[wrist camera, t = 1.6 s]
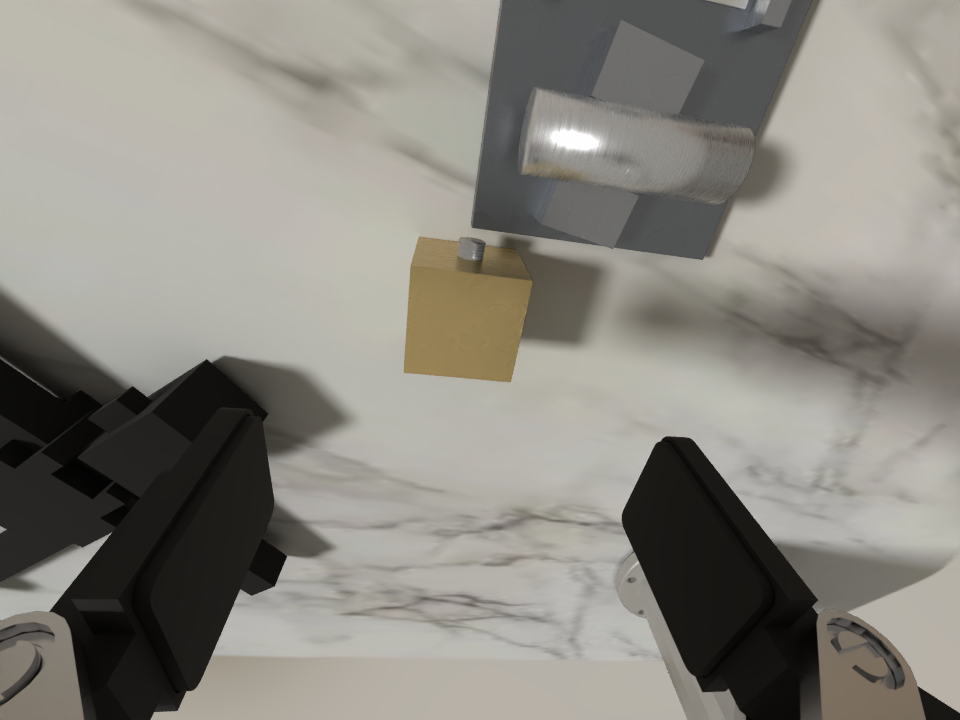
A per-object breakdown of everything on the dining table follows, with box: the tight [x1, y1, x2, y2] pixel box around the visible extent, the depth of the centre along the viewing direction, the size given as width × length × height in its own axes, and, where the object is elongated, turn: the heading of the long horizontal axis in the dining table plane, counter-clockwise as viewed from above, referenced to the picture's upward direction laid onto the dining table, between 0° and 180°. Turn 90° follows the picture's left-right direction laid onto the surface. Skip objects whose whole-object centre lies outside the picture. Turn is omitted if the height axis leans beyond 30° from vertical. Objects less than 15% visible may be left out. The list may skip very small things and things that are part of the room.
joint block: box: [404, 237, 533, 382], centre depth 20 cm, size 5×6×5 cm
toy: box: [0, 359, 287, 596], centre depth 24 cm, size 28×6×30 cm
